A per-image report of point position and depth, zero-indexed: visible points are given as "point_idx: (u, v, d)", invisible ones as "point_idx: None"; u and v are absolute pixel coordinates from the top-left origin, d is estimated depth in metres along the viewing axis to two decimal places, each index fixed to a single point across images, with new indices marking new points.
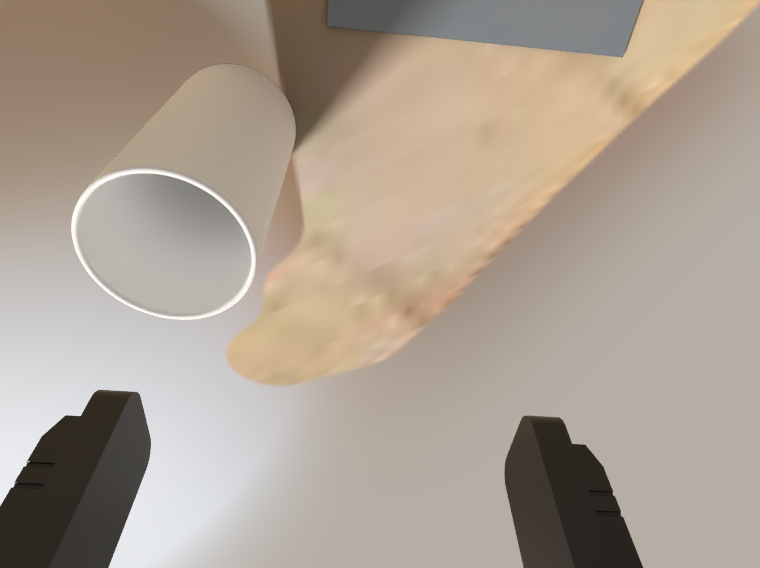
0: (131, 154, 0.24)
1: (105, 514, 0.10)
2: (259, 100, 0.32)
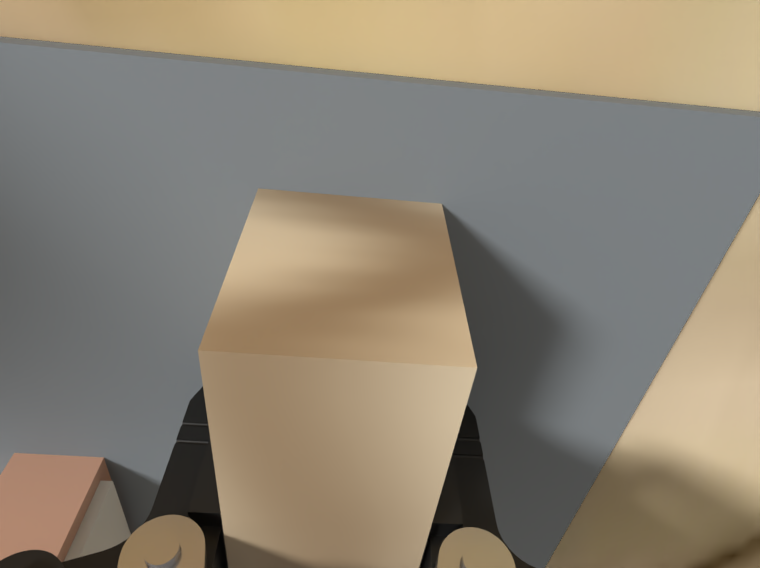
0: None
1: None
2: None
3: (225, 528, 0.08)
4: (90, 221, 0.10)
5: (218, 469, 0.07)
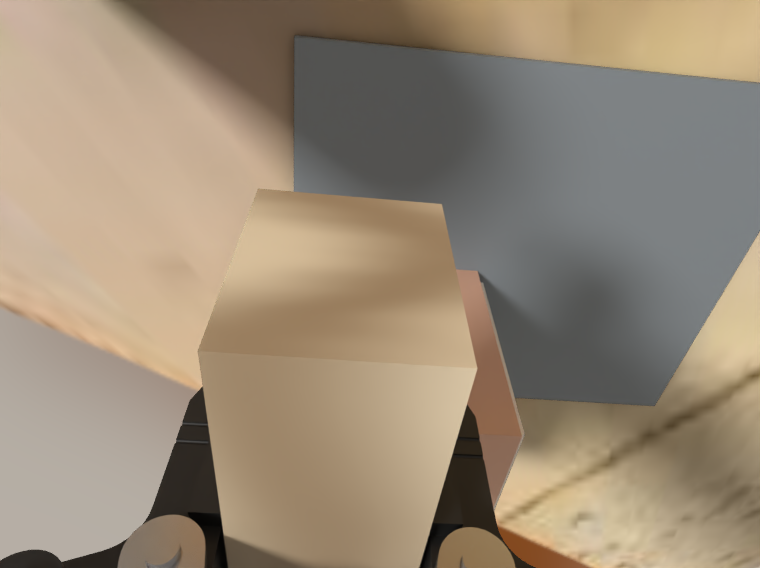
0: None
1: None
2: None
3: (225, 529, 0.08)
4: (539, 137, 0.23)
5: (218, 470, 0.07)
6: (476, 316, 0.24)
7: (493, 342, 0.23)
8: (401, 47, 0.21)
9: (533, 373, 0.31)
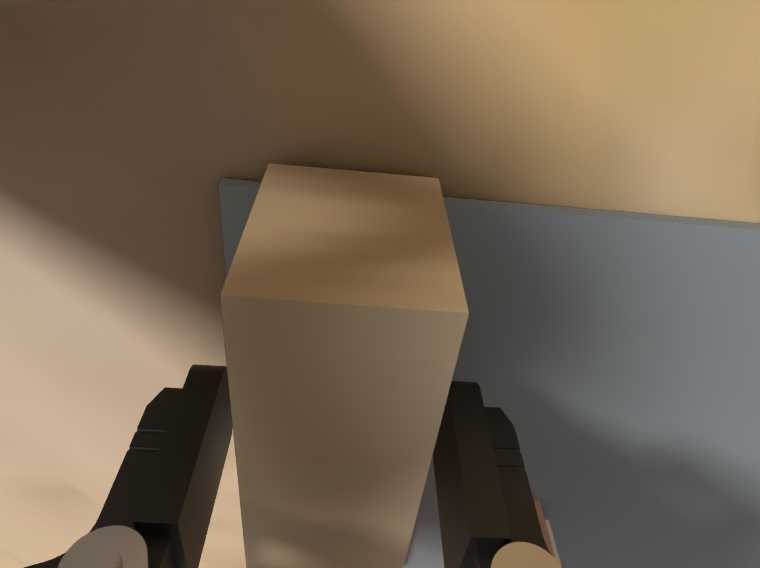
0: None
1: (208, 477, 0.10)
2: None
3: (239, 472, 0.09)
4: (669, 334, 0.13)
5: (234, 412, 0.08)
6: None
7: None
8: None
9: None
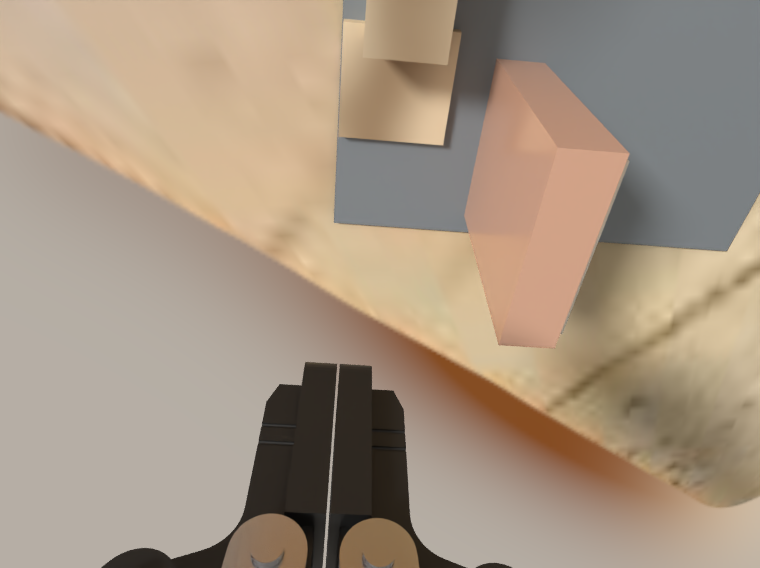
0: None
1: None
2: None
3: None
4: None
5: None
6: (553, 86, 0.21)
7: (576, 100, 0.20)
8: None
9: None
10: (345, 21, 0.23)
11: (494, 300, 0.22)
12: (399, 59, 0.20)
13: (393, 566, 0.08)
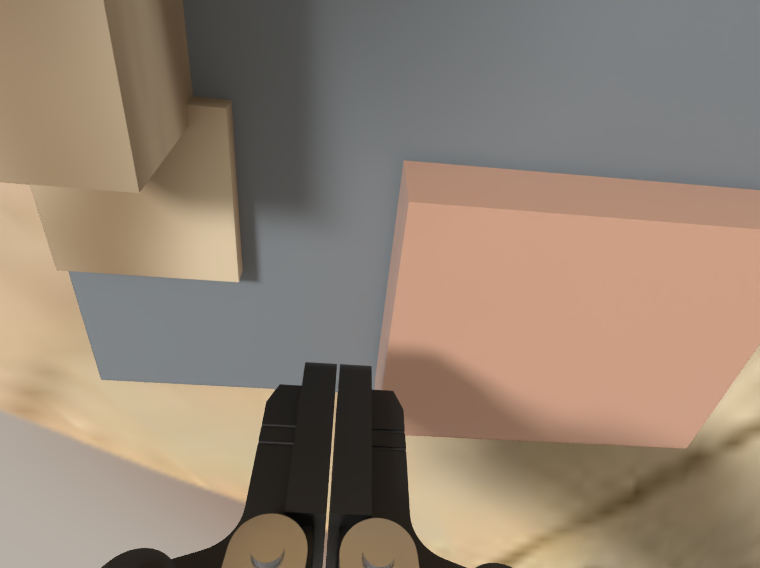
0: None
1: None
2: None
3: None
4: None
5: None
6: (549, 182, 0.13)
7: (605, 179, 0.14)
8: None
9: None
10: None
11: (641, 430, 0.17)
12: (36, 182, 0.10)
13: (393, 566, 0.08)
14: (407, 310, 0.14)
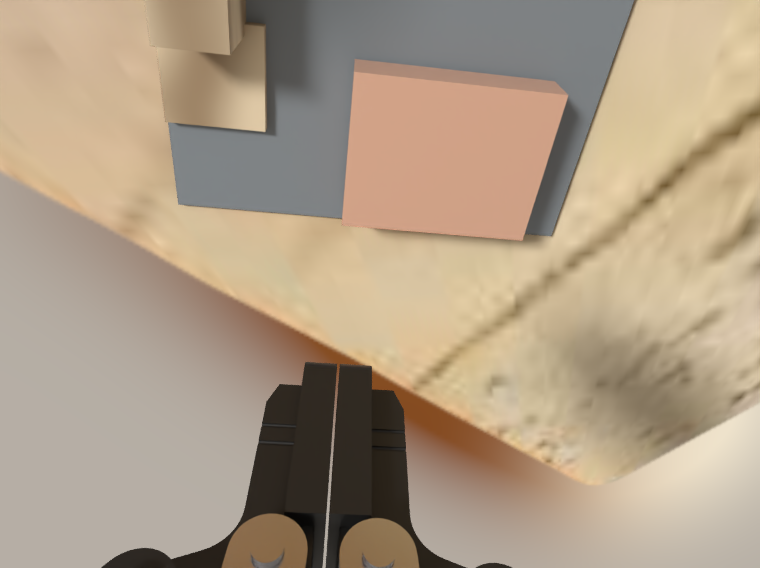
0: None
1: None
2: None
3: None
4: None
5: None
6: (429, 70, 0.26)
7: (461, 71, 0.26)
8: None
9: None
10: None
11: (493, 225, 0.29)
12: (184, 48, 0.22)
13: (393, 566, 0.08)
14: (356, 137, 0.26)
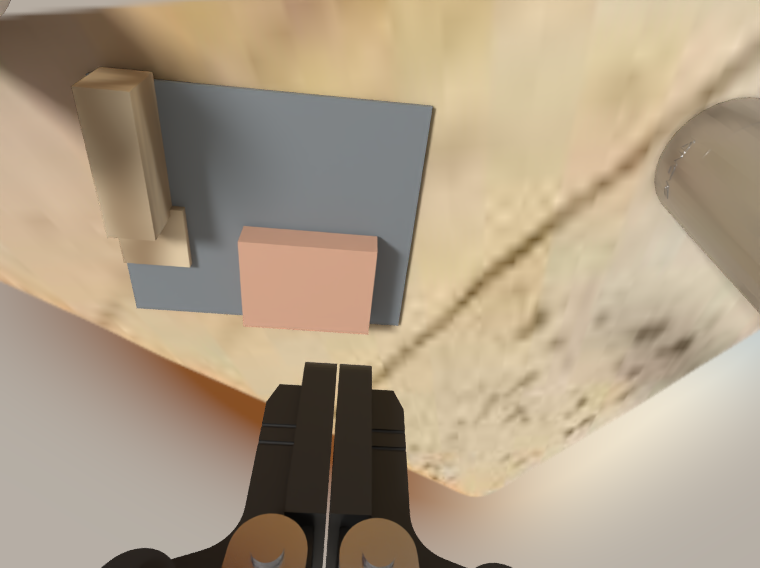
0: None
1: None
2: None
3: (86, 149, 0.33)
4: (253, 134, 0.36)
5: (81, 125, 0.32)
6: (291, 233, 0.40)
7: (313, 232, 0.40)
8: None
9: None
10: None
11: (346, 325, 0.43)
12: (127, 238, 0.36)
13: (393, 566, 0.08)
14: (244, 276, 0.40)
